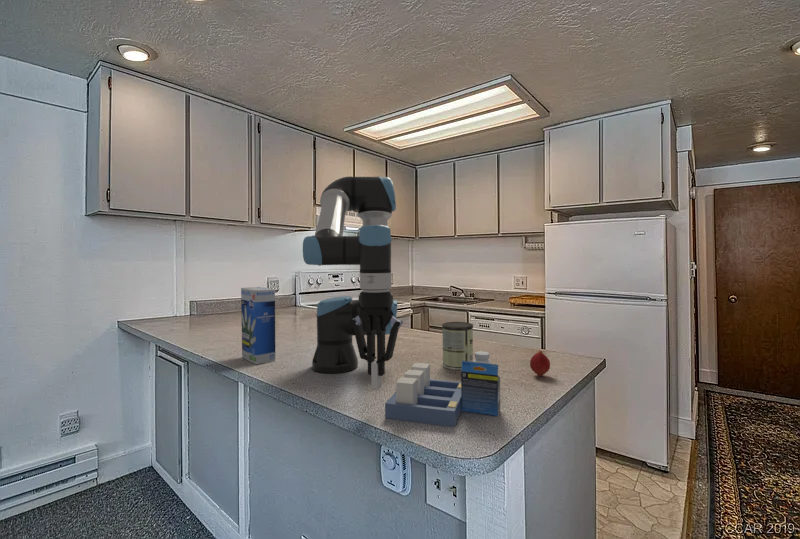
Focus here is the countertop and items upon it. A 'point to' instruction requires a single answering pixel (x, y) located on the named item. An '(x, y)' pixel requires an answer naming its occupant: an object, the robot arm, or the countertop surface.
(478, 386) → the label tape box
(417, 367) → the tab far
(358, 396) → the countertop surface
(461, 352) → the coffee can
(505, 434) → the countertop surface
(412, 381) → the tab near
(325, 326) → the robot arm
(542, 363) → the onion
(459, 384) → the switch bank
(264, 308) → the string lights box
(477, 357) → the supplement bottle
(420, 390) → the tab middle
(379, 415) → the countertop surface
